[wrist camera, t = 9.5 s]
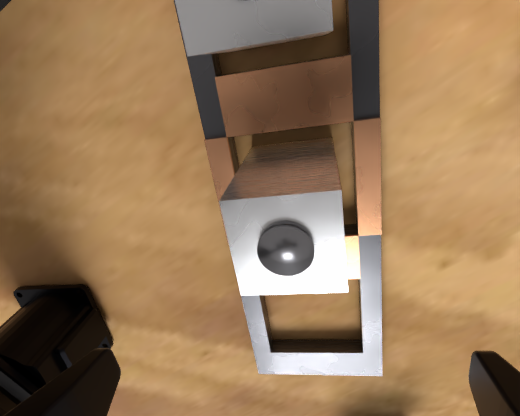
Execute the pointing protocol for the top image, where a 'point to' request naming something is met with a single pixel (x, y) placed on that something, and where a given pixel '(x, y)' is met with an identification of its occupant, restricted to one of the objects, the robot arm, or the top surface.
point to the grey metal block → (250, 23)
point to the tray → (3, 3)
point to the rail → (364, 165)
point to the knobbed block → (287, 220)
